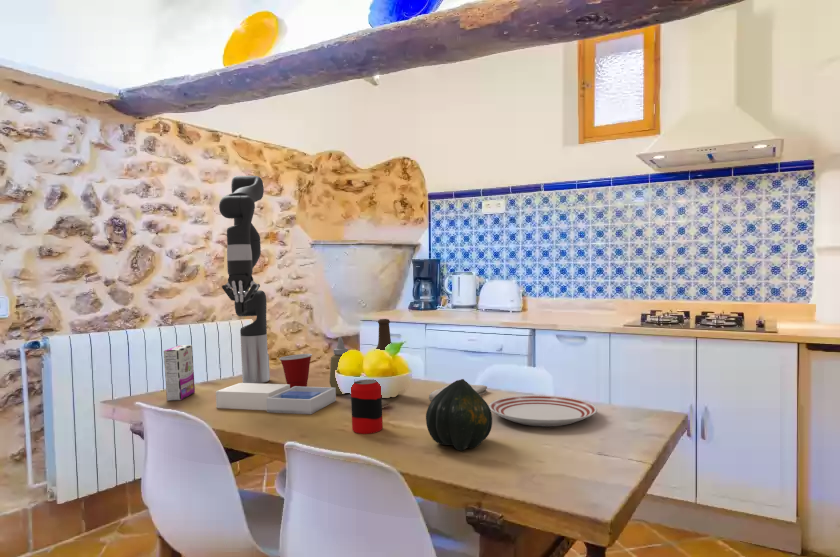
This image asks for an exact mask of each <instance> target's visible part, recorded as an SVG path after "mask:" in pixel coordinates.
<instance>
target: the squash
mask: <svg viewBox="0 0 840 557" xmlns="http://www.w3.org/2000/svg"><path fill="white" fill-rule="evenodd" d="M469 384H470V383H468V381H466V380H465V379H464V378H461V379H457V380H455V381H453V382H452V383H450V384H448V385H449V386H447V387H446V388H444V389H443V390H442V391H440V392H439V393H438V394H437V395H436V396H435V397H434V398H433V400H432V401H431V400H430V403H429V404H428V407H427V409H426V413H425V421H426V422H425V423H426V424H425V425H426V428H427V430H428V433H429V435H430V437H431V438H432V440H433V441H434V443H437V444H439V445H443V446H446V445H448V446H452V445H453V447H454V448H455V449H456V450H458V451H460V452H462V451H465V450H466V449H467V448H469V449H473V448H474V449H475V448H476V447H478V446H480V445H481V444H482V443H483V441H484V440H485V439H486V438H488V436H489V435H490V433H491V431H492V427H493V414H492V413H493V412H492V411H491V410H490V408H489V404H488V403H487V402H486V401H485V399H484V398H483V397H482V395H479V394H478V393H477V392H476V391H475V390H474V389H473V388H472V387H471V386H470V385H471V384H470V385H469Z"/></svg>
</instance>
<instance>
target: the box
mask: <svg viewBox="0 0 840 557" xmlns="http://www.w3.org/2000/svg"><path fill="white" fill-rule="evenodd" d="M289 391H302V392H321V394H319V395H317V396H315V397H313V398H311V399H289V398H281V395H282V394H284V393H287V392H289ZM266 399H267V410H266V413H275V414H276V413H277V414H293V415H294V414H295V415H296V414H297V415H313V414H315V413H316V412H318V411H320V410H322V409H324V408H325V407H327V406H329V405H330V404H333V403H335V402H336V401H337V394H336V388H332V387H331V386H329V387H328V386H327V387H325V386H324V387H323V386H322V387H321V386H307V387H301V386H294V387H292V388H290V389H287V390H285V391H282V392H280V393H278V394H275V395H273V396H271V397H268V398H266Z"/></svg>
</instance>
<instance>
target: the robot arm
mask: <svg viewBox="0 0 840 557" xmlns="http://www.w3.org/2000/svg"><path fill="white" fill-rule="evenodd" d="M230 188H231V193H228V194H226V195H223V197H221V199H220V201H219V206H218V208H219V213H220V215H222V217H224V218H225V219H233V225H231V226H228V227H227V229H226V242H227V244H226V245H227V248H226V263H227V275H228V278H227V282H226V283H225V284H223V285H222V286H221V289H222V290H223V291H224V292H225V294H226V295H227V297H228V298H229V299H230V301H232V302H233V301H234V311H235V314H236V315H237V316H238V317H255V318H256V319H255V320H254V321H253V322H251V323H249V324H247V325H244V326H242V327H241V328H240V332H239V333H240V334H239V335H240V352H241V353H240V354H241V356H240V357H241V376H242V377H241V378H242V380H241V381H242V383H260V384H265V383H267V382H269V381H270V380H271V374H270V355H269V352H268V351H269V348H268V330H267V329H268V328H267V306H268V305H267V296H266V292H265V291H263V290H259V289H260V288H261V285H260V283H257V282H255V281H254V277H253V273H254V272H253V269H254V268H255V266H256V264H257V263H258V261H259V259H260V257H261V254H262V253H261V252H262V251H261V249H262V248H261V246H262V245H261V235H260V233H259V232H258V230H257V229H256V227H255V226H254V224H253V223H252V221H253V216H254V213H255V209H256V208H255V203H256V202H259V201H261V200H262V199H263V197H264V192H265V191H264V190H265V188H264V182H263V179H262V178H261V177H260V176H258V175H235V176H233V177H232V179H231V186H230Z"/></svg>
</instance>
